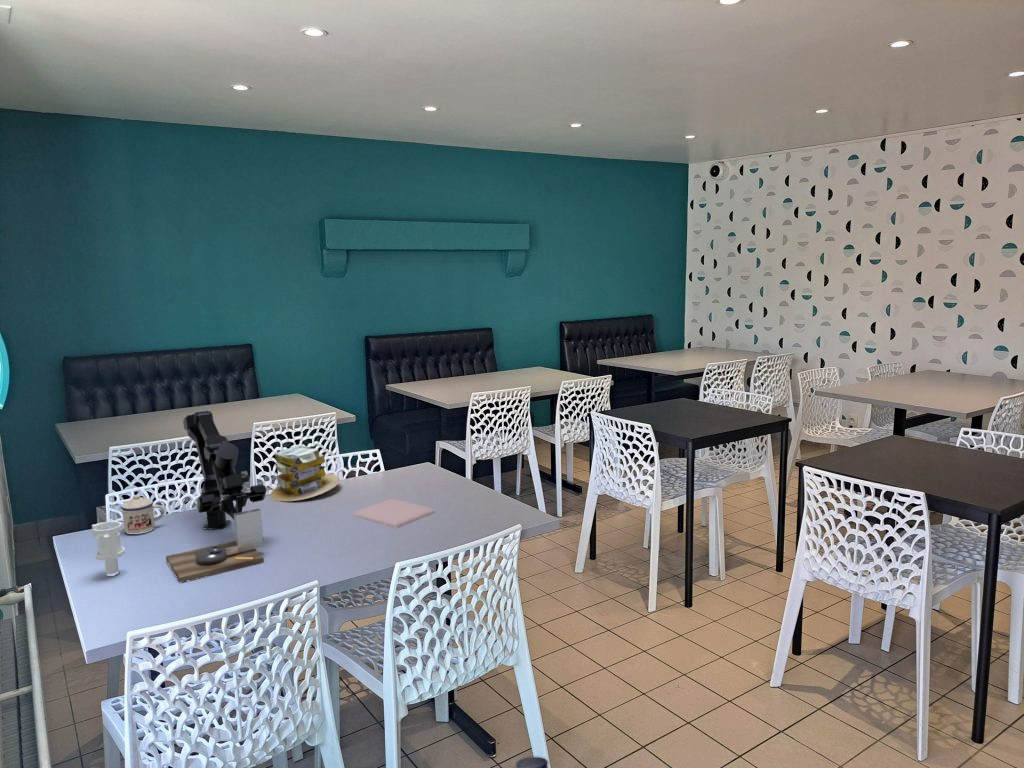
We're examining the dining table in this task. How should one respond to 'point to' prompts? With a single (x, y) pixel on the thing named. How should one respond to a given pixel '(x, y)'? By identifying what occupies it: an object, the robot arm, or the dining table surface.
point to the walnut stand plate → (190, 569)
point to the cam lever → (237, 538)
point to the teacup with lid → (139, 514)
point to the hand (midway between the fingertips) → (239, 523)
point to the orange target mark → (244, 558)
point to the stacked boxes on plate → (301, 474)
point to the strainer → (108, 544)
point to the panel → (394, 512)
